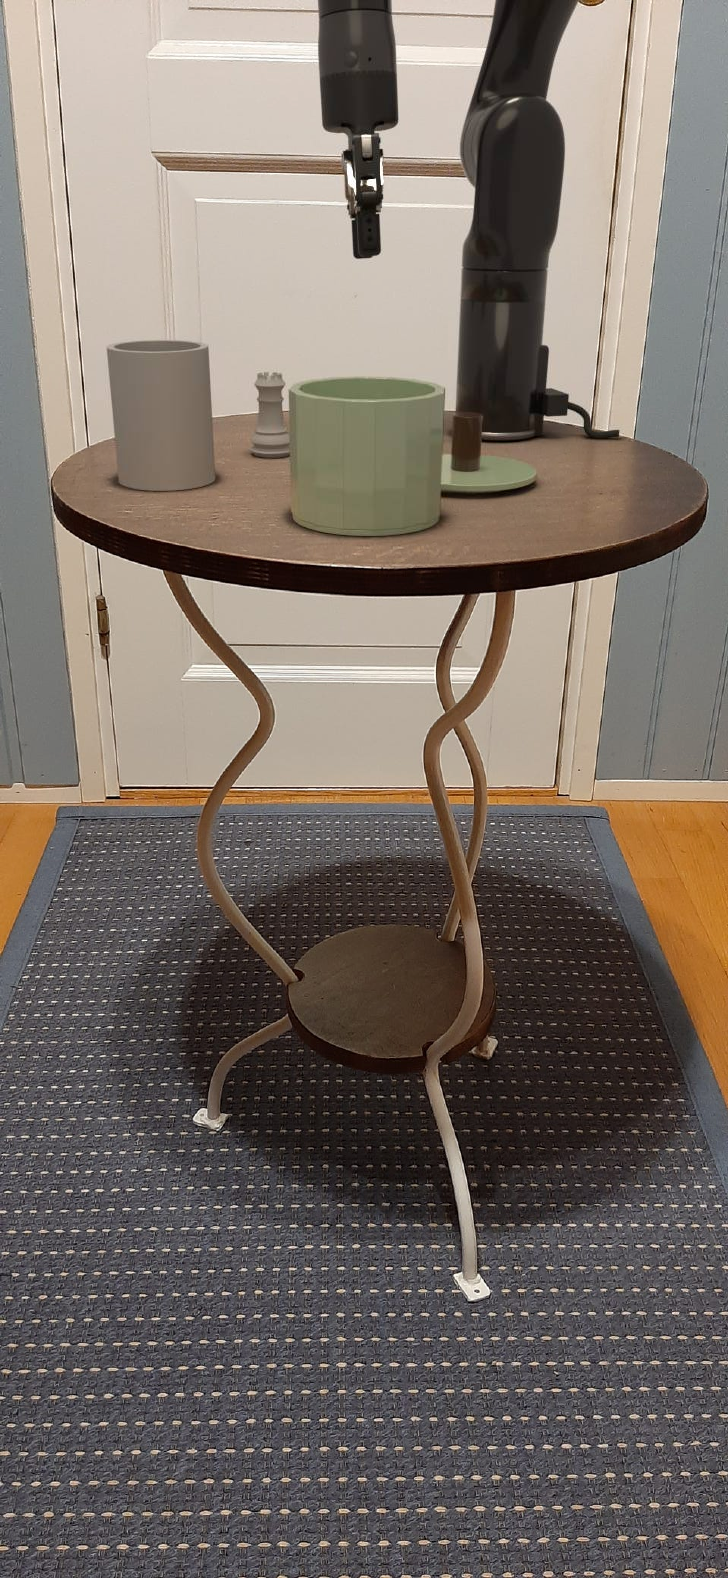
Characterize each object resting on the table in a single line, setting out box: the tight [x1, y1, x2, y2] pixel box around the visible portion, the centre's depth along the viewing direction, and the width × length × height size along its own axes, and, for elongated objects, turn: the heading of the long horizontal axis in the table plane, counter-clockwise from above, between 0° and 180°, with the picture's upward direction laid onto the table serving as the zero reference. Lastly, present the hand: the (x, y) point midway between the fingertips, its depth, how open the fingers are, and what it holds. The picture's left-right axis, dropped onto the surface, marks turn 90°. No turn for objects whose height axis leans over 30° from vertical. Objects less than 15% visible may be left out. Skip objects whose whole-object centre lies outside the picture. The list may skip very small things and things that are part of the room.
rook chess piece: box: [250, 371, 290, 459], centre depth 119 cm, size 4×4×8 cm
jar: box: [288, 375, 446, 537], centre depth 96 cm, size 13×13×10 cm
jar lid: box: [441, 412, 538, 494], centre depth 109 cm, size 14×14×6 cm
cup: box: [106, 339, 216, 492], centre depth 107 cm, size 9×9×12 cm
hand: (366, 257), depth 118 cm, fingers open, 8 cm apart
